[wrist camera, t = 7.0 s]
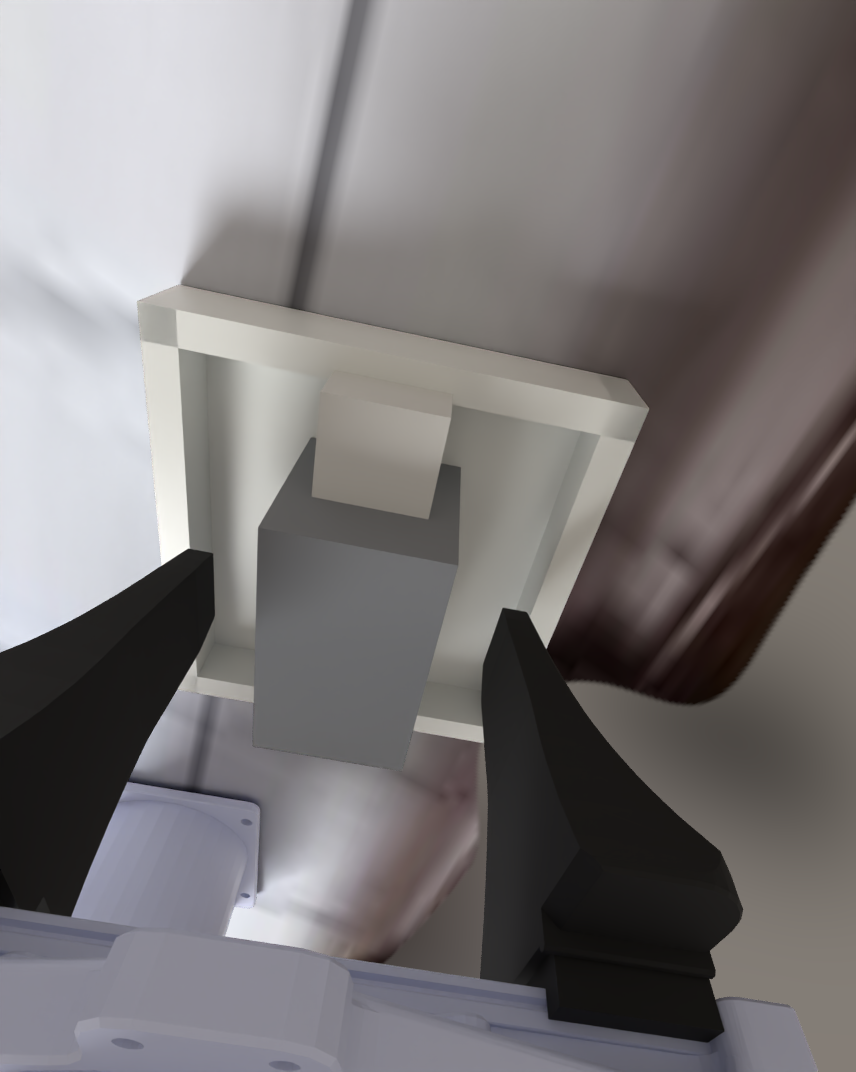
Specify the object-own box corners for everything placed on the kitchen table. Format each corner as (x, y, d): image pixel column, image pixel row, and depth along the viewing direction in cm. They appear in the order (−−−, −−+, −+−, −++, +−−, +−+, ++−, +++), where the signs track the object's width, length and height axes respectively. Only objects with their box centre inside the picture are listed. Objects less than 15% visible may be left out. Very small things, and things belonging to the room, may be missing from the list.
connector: (415, 652, 19) (401, 771, 15) (295, 631, 18) (252, 746, 15) (482, 379, 13) (487, 457, 10) (317, 344, 13) (260, 411, 10)
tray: (501, 699, 20) (504, 746, 19) (198, 645, 20) (173, 689, 18) (627, 379, 14) (649, 408, 12) (178, 284, 13) (136, 301, 12)
